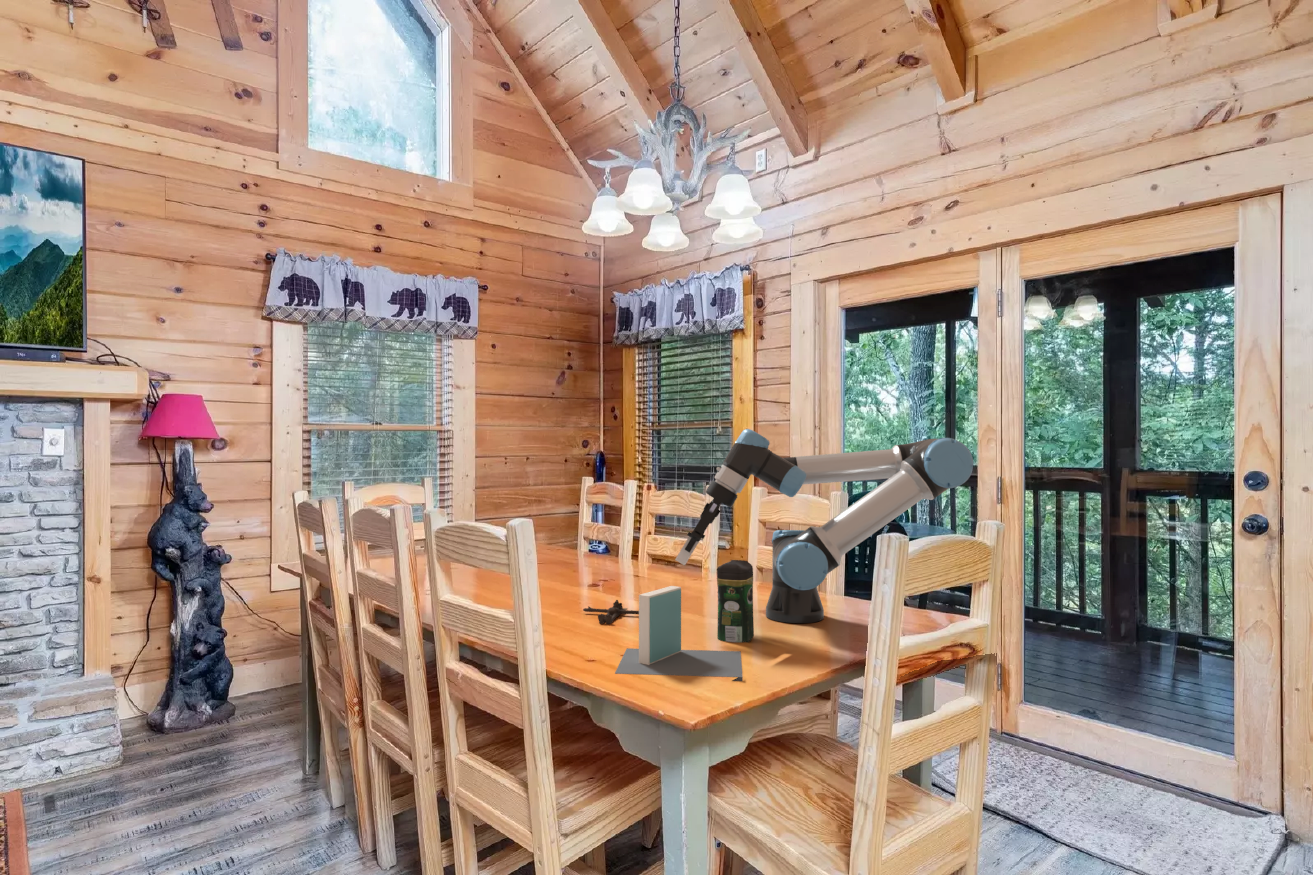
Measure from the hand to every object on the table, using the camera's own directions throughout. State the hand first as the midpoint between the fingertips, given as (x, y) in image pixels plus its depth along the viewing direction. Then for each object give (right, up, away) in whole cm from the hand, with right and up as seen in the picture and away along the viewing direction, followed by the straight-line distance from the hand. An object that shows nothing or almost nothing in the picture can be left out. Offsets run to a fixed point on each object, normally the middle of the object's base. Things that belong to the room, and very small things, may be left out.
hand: (681, 559), depth 186 cm
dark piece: (-18, -18, +11) cm, 28 cm away
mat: (-1, -17, -31) cm, 36 cm away
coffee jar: (+12, -17, -11) cm, 24 cm away
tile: (-5, -16, -28) cm, 33 cm away
